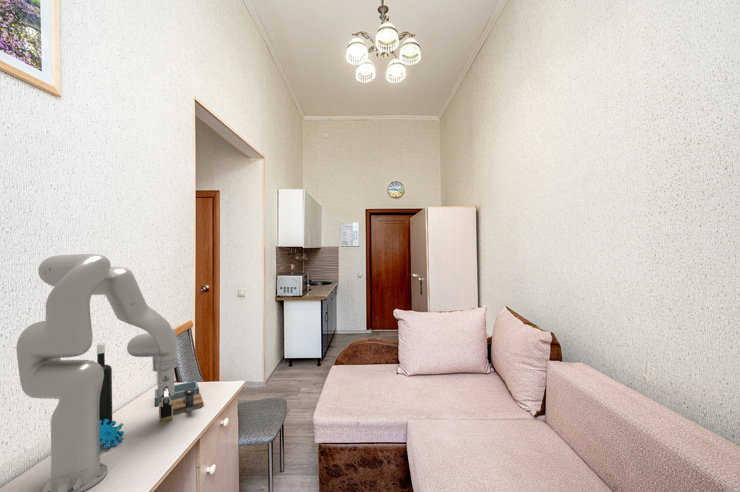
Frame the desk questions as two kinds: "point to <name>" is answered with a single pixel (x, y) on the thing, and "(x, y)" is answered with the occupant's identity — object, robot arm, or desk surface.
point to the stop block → (166, 419)
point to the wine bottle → (105, 386)
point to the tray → (179, 391)
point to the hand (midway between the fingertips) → (165, 411)
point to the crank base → (181, 406)
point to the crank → (189, 398)
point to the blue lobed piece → (110, 433)
